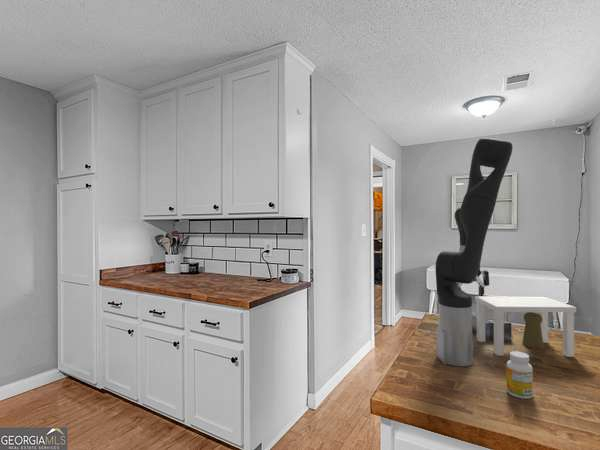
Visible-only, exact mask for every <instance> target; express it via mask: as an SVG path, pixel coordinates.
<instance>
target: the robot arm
mask: <svg viewBox="0 0 600 450" xmlns="http://www.w3.org/2000/svg"><path fill="white" fill-rule="evenodd" d="M512 153H513V144H512V142H510V141H507V140H504V139H503V140H502V139H496V138H490V137H489V138H488V137H481V138H479V139H478V141H477V142H476V144H475V146H474V149H473V152H472V156H471V161H470V162H471V163H470V168H469V175H468V185H467V188H466V189H467V190H466V193H465V195H464V196H463V200H462V202H461V205H460V207H459V208H457V209H456V210H455V212H454V220H455V223H456V225H457V228H458V234H459V250H458V251H450V250H444V251H441V252H440V253H439V254H438V255H437V258H436V260H435V267H434V268H435V284H436V293H437V294H436V295H437V297H438V325H437V326H436V357H437V358H438V359H439V360H440V361H441V363H442V364H443V365H449V366H454V367H469V366H471V365H473V330H472V311H473V298H472V295H470V294H469V293H467V292H465V291H463V290H462V287H461V286H462V285H463V284H466V285H469V284H472V283H474V282H475V283H476V284H478V296H484V295H485V287H488V286H490V274H489V271H488V270H485V269H484V270H481V262H482V261H481V260H482V256H483V252H484V251H483V249H484V244H485V240H486V236H487V232H488V230H489V229H488V228H489V225H490V223H491V219H492V216H493V214H494V210H495V208H496V207H495V206H496V203H497V199H498V196H499V195H498V194H499V191H500V188H501V183H502V181H503V179H504V176H505V172H506V171H507V167H508V164H509V162H510V160H511V157H512ZM481 167H485V168H492V169H493V170H492V171H491V173H490V174H488V176H486V178H484V176H483V174H482V170H481ZM480 276H482V279H481V278H480Z"/></svg>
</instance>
